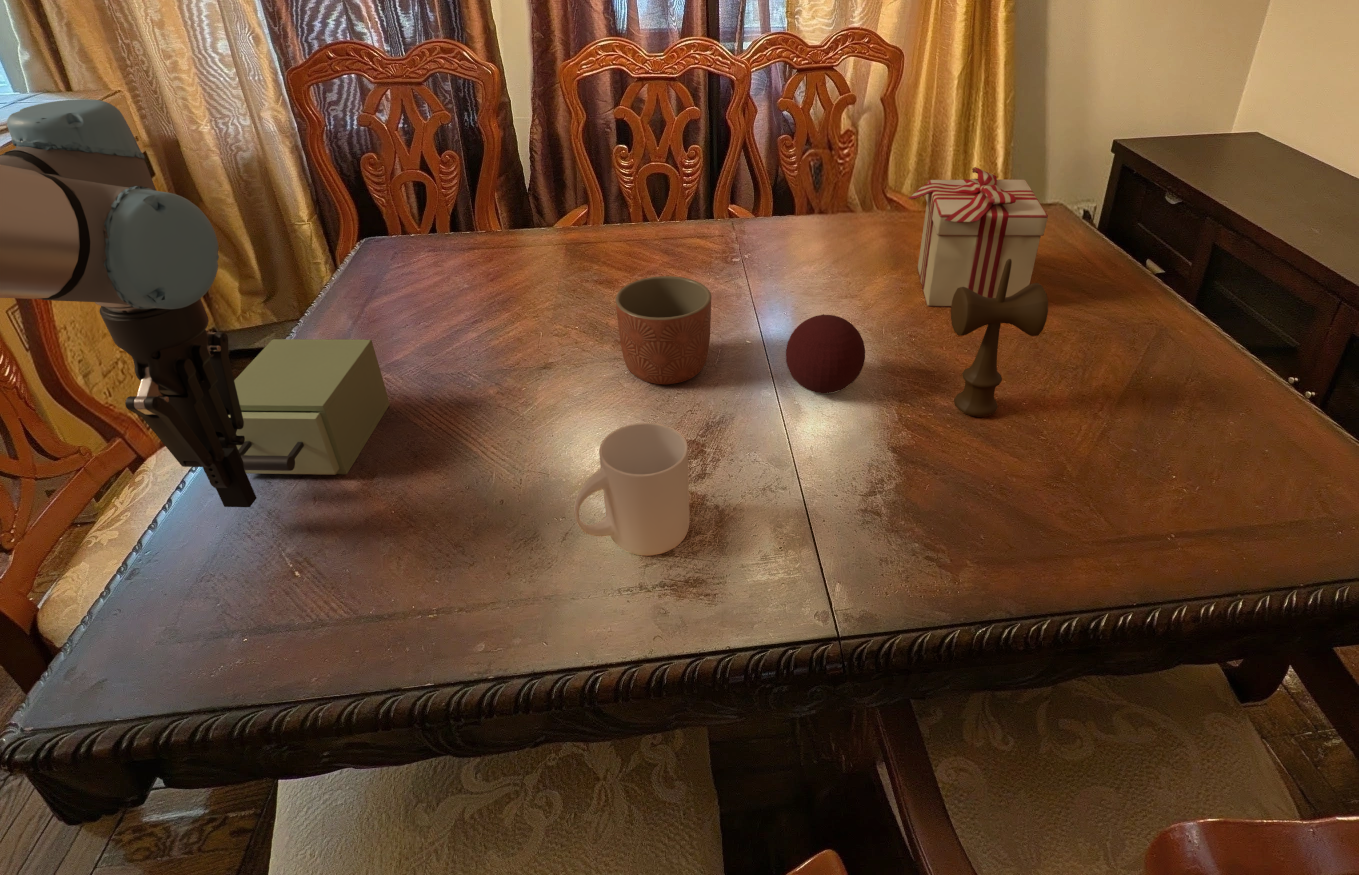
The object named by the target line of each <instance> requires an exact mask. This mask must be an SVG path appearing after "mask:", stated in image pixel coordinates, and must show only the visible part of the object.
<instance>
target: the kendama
mask: <svg viewBox="0 0 1359 875" xmlns="http://www.w3.org/2000/svg"><path fill="white" fill-rule="evenodd" d="M1011 264H1012V261H1011V259H1008V260H1007V261H1006V263H1005V266H1004V270H1003V273H1002V277H1001V280H1000V284H999V288H998V291H997V295H996V298H988V297H984V296H981V295H979V294H977V293H975V292H974V291H972V290H970V289H968V288H966V287H960V288H957V290H956V292H955V294H954V296H953V300H952V305H951V307H950V321H951V327H952V329H953V332H954V333H955V334H956V335H957V336H959V337H962V336H966V335H969V334H971V333H973V332H974V331H977V330H978V329H980V328H982V327H984V326H986V329H985V331H984V335H983V338H982V340H981V343H980V346H979V348H978V351H977V353H976V356H975V358H974V360H973V362H972V364H971V365H970V366H969V367H967V368H965V369H963V371H962V373H961V374H962V379H963V380H964V387H963V390H962V391H960V392H959V393H957V394H956V396H955V397H954V399H953V401H954V406H955V407H956V409H957V410H958V411H960V412H961V413H963V414H964V415H968V416H971V417H979V418H983V417H988V416H991V415H993V414H996V412H997V410H998V408H999V405H998V401H997V400H996V398H995V391H996V388H997V387H998V386H1000V385H1001V382H1002V381H1003V378H1002V375H1001V373H1000V372H999V371H998V349H999V339H1000V332H1001V331H1000V330H1001V325H1002V324H1006V325H1008V324H1009V325H1012V326H1014V327H1015V328H1017V329H1019V330H1021V331H1022V332H1023V333H1024V334H1027V335H1028V336H1030V337H1038V336H1039V335H1041V333H1042V332H1043V330H1044V329H1045V326H1046V323H1047V321H1048V320H1047V319H1048V314H1049V300H1048V295H1047V292H1046V290H1045V288H1044V286H1043V285H1042V284H1040V283H1039V282H1034V283H1030V285H1028V286H1026V287H1025V288H1023V289H1022V290H1020V291H1019V292H1017V293H1015V294H1014V295H1012V296H1009V297H1006V292H1007V287H1008V282H1009V277H1010V271H1011Z"/></svg>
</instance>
